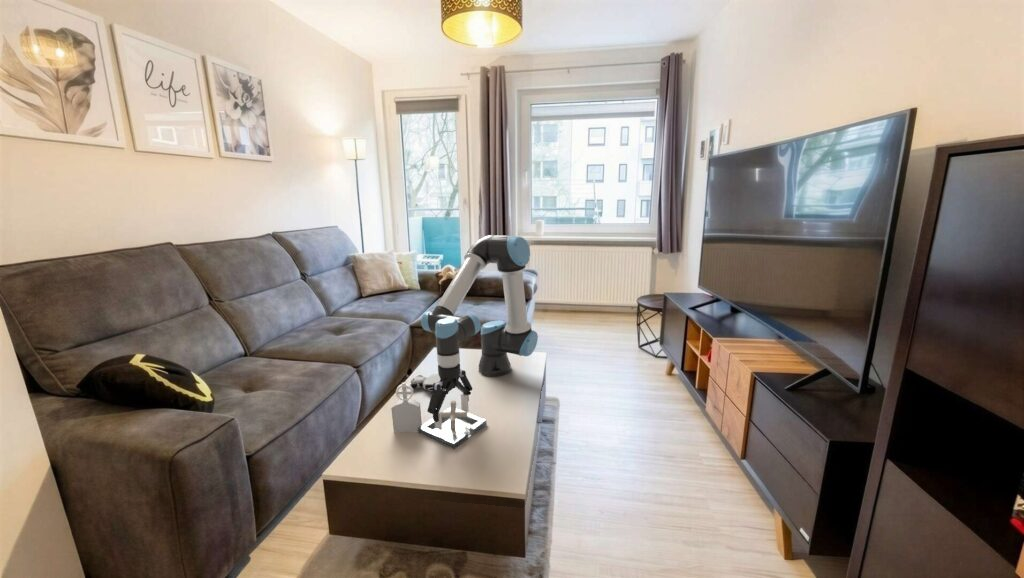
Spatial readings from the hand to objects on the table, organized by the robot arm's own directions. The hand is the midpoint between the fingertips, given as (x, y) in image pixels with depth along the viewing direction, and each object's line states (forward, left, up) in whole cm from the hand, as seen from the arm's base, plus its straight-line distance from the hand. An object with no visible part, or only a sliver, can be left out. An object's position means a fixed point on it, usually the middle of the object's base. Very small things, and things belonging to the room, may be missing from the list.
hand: (452, 419), depth 143 cm
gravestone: (+9, -13, -4) cm, 17 cm away
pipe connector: (0, 0, -3) cm, 3 cm away
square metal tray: (0, 0, -4) cm, 4 cm away
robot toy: (-17, -31, -4) cm, 36 cm away
